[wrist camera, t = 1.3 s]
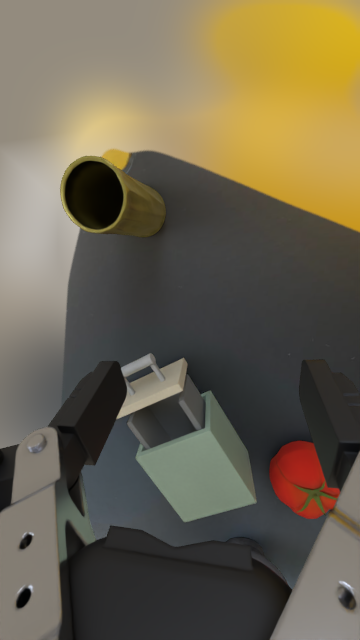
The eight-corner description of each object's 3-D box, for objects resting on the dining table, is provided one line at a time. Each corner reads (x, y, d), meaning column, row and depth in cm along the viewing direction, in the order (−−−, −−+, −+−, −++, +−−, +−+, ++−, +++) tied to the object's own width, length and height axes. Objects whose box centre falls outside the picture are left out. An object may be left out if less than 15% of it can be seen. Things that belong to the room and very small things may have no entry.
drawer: (112, 362, 39) (93, 388, 32) (169, 334, 36) (160, 355, 30) (167, 440, 42) (160, 477, 36) (222, 420, 40) (224, 455, 33)
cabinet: (149, 415, 42) (135, 458, 34) (210, 389, 39) (210, 430, 31) (189, 471, 45) (184, 522, 37) (248, 451, 42) (257, 502, 34)
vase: (169, 189, 31) (136, 154, 17) (162, 240, 33) (129, 245, 19) (121, 181, 31) (52, 141, 18) (117, 233, 33) (54, 232, 20)
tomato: (294, 489, 44) (311, 538, 37) (252, 452, 42) (260, 496, 35) (348, 460, 40) (377, 507, 33) (304, 418, 39) (325, 459, 32)
